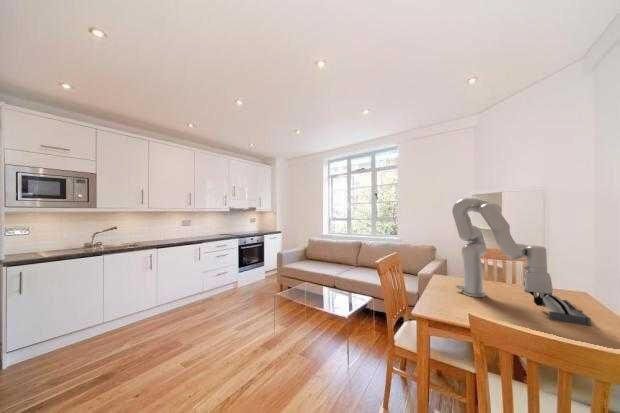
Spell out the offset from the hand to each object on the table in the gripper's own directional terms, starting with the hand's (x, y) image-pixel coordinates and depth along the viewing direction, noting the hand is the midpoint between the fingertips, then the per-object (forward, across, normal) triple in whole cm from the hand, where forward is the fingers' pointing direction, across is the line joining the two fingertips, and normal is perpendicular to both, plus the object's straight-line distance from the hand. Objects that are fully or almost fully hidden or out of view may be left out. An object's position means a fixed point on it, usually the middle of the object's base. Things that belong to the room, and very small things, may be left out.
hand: (538, 304), depth 121 cm
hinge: (+3, +7, -1) cm, 8 cm away
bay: (+3, +8, 0) cm, 8 cm away
